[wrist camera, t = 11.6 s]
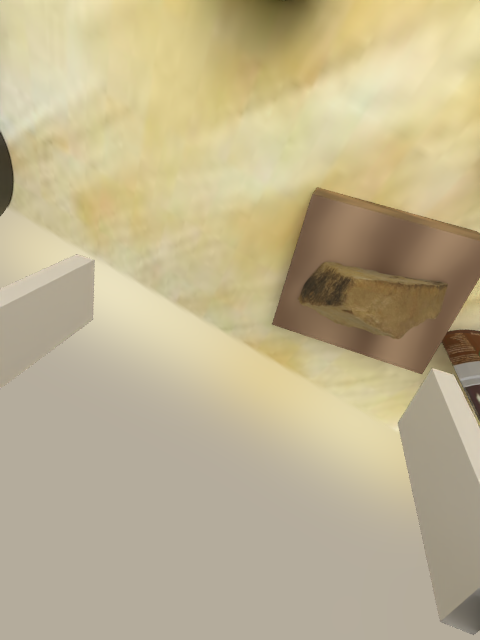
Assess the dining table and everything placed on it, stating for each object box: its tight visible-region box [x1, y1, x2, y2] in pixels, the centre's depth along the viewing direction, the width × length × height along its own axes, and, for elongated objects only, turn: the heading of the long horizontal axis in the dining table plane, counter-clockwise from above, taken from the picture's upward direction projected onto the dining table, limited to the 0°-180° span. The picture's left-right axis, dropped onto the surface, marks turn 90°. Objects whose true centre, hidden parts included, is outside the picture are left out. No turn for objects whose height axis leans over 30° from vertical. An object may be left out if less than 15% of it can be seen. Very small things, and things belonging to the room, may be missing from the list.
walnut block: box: [272, 188, 480, 374], centre depth 32 cm, size 14×12×5 cm
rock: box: [298, 262, 448, 339], centre depth 27 cm, size 11×9×10 cm
